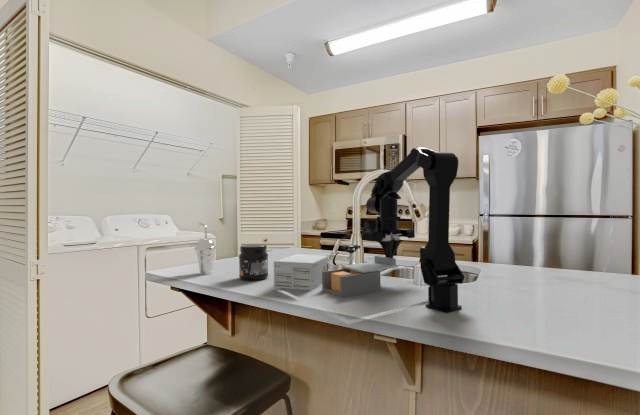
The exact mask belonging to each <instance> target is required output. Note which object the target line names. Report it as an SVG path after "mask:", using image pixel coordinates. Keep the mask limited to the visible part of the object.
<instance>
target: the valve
mask: <svg viewBox="0 0 640 415" xmlns="http://www.w3.org/2000/svg"><path fill="white" fill-rule="evenodd" d="M341 249H342V250H345V252H347V253H348V254H349V255H348V262H346V265H351V264H356V263H355V262H354V255H353V254H354V253H356V251H357V250H359V249H361V245H358V244H354V245H353V244H343V245H341Z"/></svg>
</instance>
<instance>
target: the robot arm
mask: <svg viewBox="0 0 640 415" xmlns="http://www.w3.org/2000/svg"><path fill="white" fill-rule="evenodd" d="M420 168H422V173H423V174H422V175H423V178H424V180H425V181H426V183H427V185H428V186H429V194H428V195H429V196H428V197H429V199H428V201H429V202H428V203H429V204H428V241H427V243H426V244H425V246H421V247H420V248H419V261H418V262H419V263H420V272H421V275H422V279H423V283H424V284H426V285H427V286H428V291H427V292H428V295H427V297H428V299H427V300H428V303H425V307H426V308H427V307H428V308H431V309H434V310H438V311H441V312H444V313H449V312H453V311H456V310H459V309H462V307H463V306H462V305H460V304H459V294H458V293H459V292H458V291H459V290H458V288H459V287H458V286H459V284H460V285H461V284H464V280H465V275H464V274H463V272H462V270H461V269H460V267H459V266H458V264H457V262H456V255H455V251H454V250H453V248H452V246H451V244H450V241H449V239H450V237H449V236H450V203H451V202H450V200H451V199H450V198H451V187H452V184H453V183H454V181H455V180H456V178H457V177H458V169H459V158H458V156H457V155H456V154H454V153H453V152H444V151H443V152H442V151H436V150H433V149H429V147H418V146H417V147H414V148H412V149H411V150H410V152H409V154H407V155H406V156H405V157H404V158H403V159H402V160H401V161H400V162H399V163H398V164H397V165H396V166H394V168H393V169H391V170H389V171H385V172H383V173H381V174H380V175H378V176H377V178H376V180H375V182H374V185H373V187H372V189H371V194H370V197H369V198H368V199H367V201H366V203H365V207H366V210H367V211H368V212H369V213H370V214H371V213H372V214H379V216H377V217H376V221H371V220H366V221H364V223H363V228H364V231H363V232H362V234H361V240H362V241H368V242H376V243H379V245H381V248H382V250H383V252H384V257H389V258H394V256H395V254H396V252H397V250H398V248H399V246H400V244H401V243H402V242H403V241H404V240H403V239H400V238H401V237H402V238H403V237H404V238H408V239H414V238H415V236H416V235H415V231H414V229H410V228H398V226H399V224H398V223H399V220H401V216H400V215H399V216H398V200H401V198H402V197H401V196H400V195H399V194H398V192H400V190H401V189H402V187H403V186H404V181H405V180H406V179H407V178H409V177H410V176H411V175H413V174H414V173H415V172H416V171H417V170H419V169H420Z"/></svg>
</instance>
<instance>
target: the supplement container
mask: <svg viewBox="0 0 640 415" xmlns="http://www.w3.org/2000/svg"><path fill="white" fill-rule="evenodd" d="M267 248H268V247H267V245H266V244H262V243H261V244H259V243H258V244H257V243H256V244H254V243H253V244H244V245H241V246H240V247H239V251H240V254H239V255H238V258H239V260H238V262H239V264H238V265H239V270H238V271H239V275H238V277H239V279H240V280H242V281H245V280H247V281H248V282H257V280H258V281H261V280H265V279H268V276H269V259H268V258H269V254H268V252H267ZM247 281H246V282H247Z"/></svg>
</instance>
